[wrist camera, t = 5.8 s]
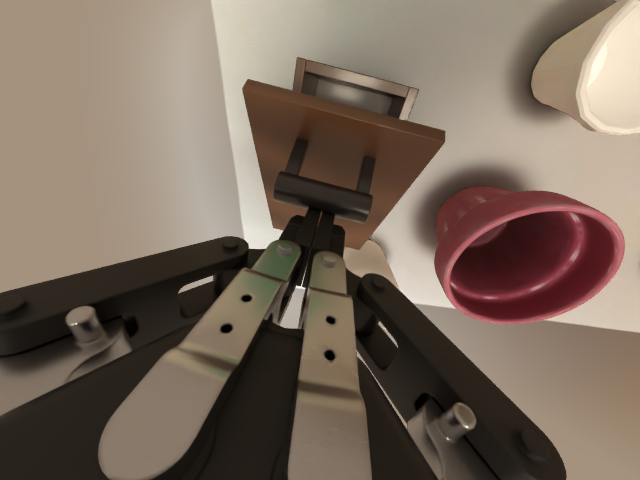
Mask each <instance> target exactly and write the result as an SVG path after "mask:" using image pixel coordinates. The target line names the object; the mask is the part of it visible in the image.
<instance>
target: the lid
mask: <svg viewBox="0 0 640 480" xmlns="http://www.w3.org/2000/svg"><path fill="white" fill-rule="evenodd" d="M242 90H243V95H244V99H245V104H246V108H247V113H248V117H249V122H250V126H251V131H252V135H253V140H254V144H255V149H256V153H257V157H258V162H259V166H260V171H261V175H262V180H263V184H264V189H265V193H266V198H267V202H268V207H269V211H270V216H271V220H272V225H273V228H276V229H280V230H284V229H285V228H286V225H287V224H288V222H289V220H290V218H291V217H293V216H295V215H300V216H304V217H305V215H306V213H307V210H308V209H312V210H316V211H320V212H321V215H322V212H324V213H328V214H332V215H335V218H334V224H335V225H339V226H342V227H343V229H344V230H345V244H344V246H345V247H349V248H352V249H356V250H360V249H361V247H362V246H363V245H364V244H365V242H366V241H367V240H368V239H369V237H370V236H371V235H372V234H373V232H374V231H375V230H376V228H377V227H378V226H379V225H380V223H381V222H382V221H383V220H384V218H385V217H386V216H387V215H388V213H389V212H390V211H391V210H392V208H393V207H394V206H395V204H396V203H397V202H398V201H399V199H400V198H401V197H402V196H403V194H404V193H405V192H406V191H407V189H408V188H409V187H410V186H411V184H412V183H413V182H414V181H415V179H416V178H417V177H418V175H419V174H420V173H421V172H422V170H423V169H424V168H425V167H426V165H427V164H428V163H429V162H430V160H431V159H432V158H433V157H434V155H435V154H436V153H437V152H438V150H439V149H440V148H441V146H442V145H443V144H444V143H445V131H444V130H440V129H436V128H432V127H428V126H425V125H421V124H417V123H413V122H409V121H406V120H402V119H398V118H394V117H390V116H387V115H383V114H379V113H375V112H371V111H368V110H364V109H360V108H356V107H352V106H349V105H345V104H341V103H337V102H333V101H330V100H326V99H322V98H318V97H314V96H311V95H307V94H303V93H299V92H295V91H291V90H288V89H284V88H280V87H276V86H272V85H269V84H265V83H261V82H257V81H253V80H250V79H248V80H247V81H246V83H245V85H244V87H243V89H242ZM321 215H320V218H321ZM319 221H320V219H319ZM318 224H319V223H318ZM317 228H318V227H317Z"/></svg>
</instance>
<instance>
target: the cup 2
mask: <svg viewBox="0 0 640 480" xmlns="http://www.w3.org/2000/svg"><path fill="white" fill-rule="evenodd" d="M531 88H532V91H533V95H534V97H535V98H536V99H537V100H538V101H540V102H541V103H542V104H546V105H550V106H552V107H554V108H556V109H558V110H560V111H562V112H564V113H566V114H568V115H570V116H571V117H572V118H574V119H575V120H576V121H577V122H579V123H580V124H581V125H582V126H584V127H585V128H586V129H587V130H590V131H596V132H602V133H608V134H614V135H621V136H625V135H630V134H635V133H640V0H619V1H617V2H616V3H614V4H612V5H611V6H609V7H608V8H606V9H605V10H603V11H601V12H600V13H598V14H597V15H595V16H594V17H592V18H590V19H589V20H587V21H586V22H584V23H583V24H581V25H580V26H578V27H576V28H575V29H573V30H572V31H570V32H568V33H567V34H565V35H564V36H562V37H561V38H559V39H558V40H556V41H555V42H553V44H552V45H551V46H550V47H549V48H548V49H547V50H546V51H545V53H544V54H543V55H542V56H541V57H540V59H539V61H538V63H537V65H536V67H535V69H534V70H533V73H532V80H531Z"/></svg>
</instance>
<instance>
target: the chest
mask: <svg viewBox="0 0 640 480" xmlns="http://www.w3.org/2000/svg"><path fill="white" fill-rule="evenodd" d="M293 91H295V92H299V93H303V94H307V95H311V96H314V97H318V98H322V99H326V100H330V101H333V102H337V103H341V104H345V105H349V106H352V107H356V108H360V109H364V110H368V111H371V112H375V113H379V114H383V115H387V116H390V117H394V118H398V119H402V120H406V121H407V120H408V117H409V115H410V112H411V109H412V107H413V104H414V102H415V99H416V96H417V94H418V91H419V89H417V88H413V87H409V86H405V85H402V84H398V83H394V82H390V81H386V80H383V79H379V78H375V77H371V76H367V75H364V74H360V73H356V72H352V71H348V70H345V69H341V68H337V67H333V66H329V65H326V64H322V63H318V62H314V61H310V60H306V59H303V58H299V57H297V61H296V68H295V76H294V84H293Z"/></svg>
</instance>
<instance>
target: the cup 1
mask: <svg viewBox="0 0 640 480" xmlns="http://www.w3.org/2000/svg"><path fill="white" fill-rule="evenodd" d="M343 259H344V261H345V266H346V268H347V269H348V270H349V271H351V272H352V273H354V274H355V275H357V276H359V277H361V278H362V277H363V276H364V275H365V274H368V273H375V274H379V275H381V276H384V277H385V278H387V279H388V280H389V281H390V282H391V283H392V284H393V285H394V286H395V287H397V288H398V289H399V287H398V285H397V282H396V280H395V278H394V276H393V273H392V271H391V269H390V266H389V264H388V262H387V260H386V257H385V255H384V253H383V251H382V249H381V247H380V246H379V245H378V244H376V243H375V242H373V241H370V240H367V241H366V242H365V244H364V245H363V246H362V247H361V249H360V250H356V249H352V248H349V247H346V248H345V249H344V255H343ZM378 324H379V326H380V327H381V328H382V329H383V330H384V332H385V333H386V332H388V330H387V329H386V328H385V327H384V326H383V324H382V323H381V322H379V323H378Z"/></svg>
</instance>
